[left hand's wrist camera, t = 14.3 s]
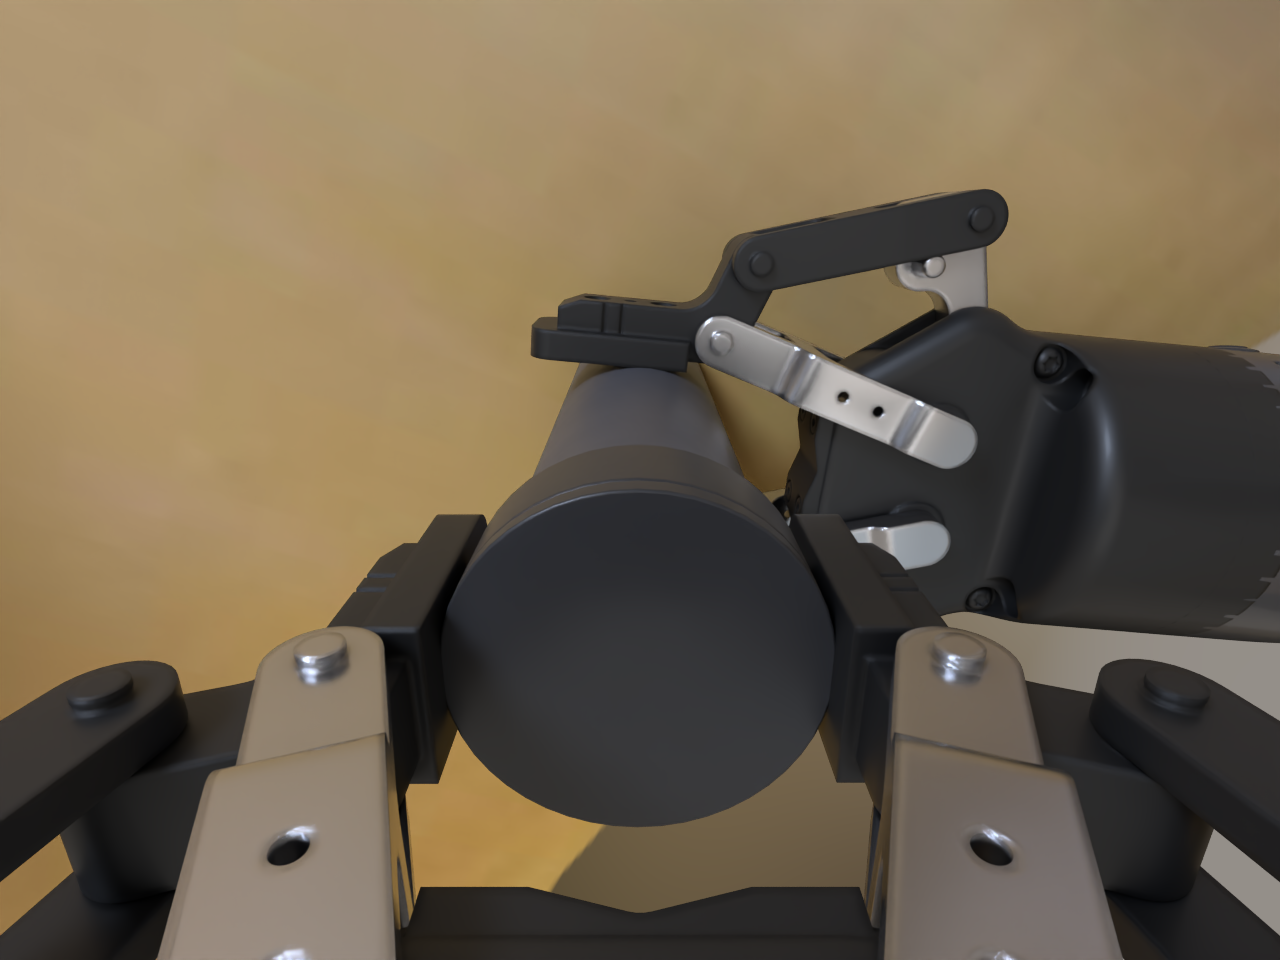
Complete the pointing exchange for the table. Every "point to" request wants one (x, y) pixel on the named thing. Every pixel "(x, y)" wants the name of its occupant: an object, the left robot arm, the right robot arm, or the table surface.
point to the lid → (637, 640)
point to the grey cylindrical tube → (638, 414)
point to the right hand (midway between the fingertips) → (534, 434)
